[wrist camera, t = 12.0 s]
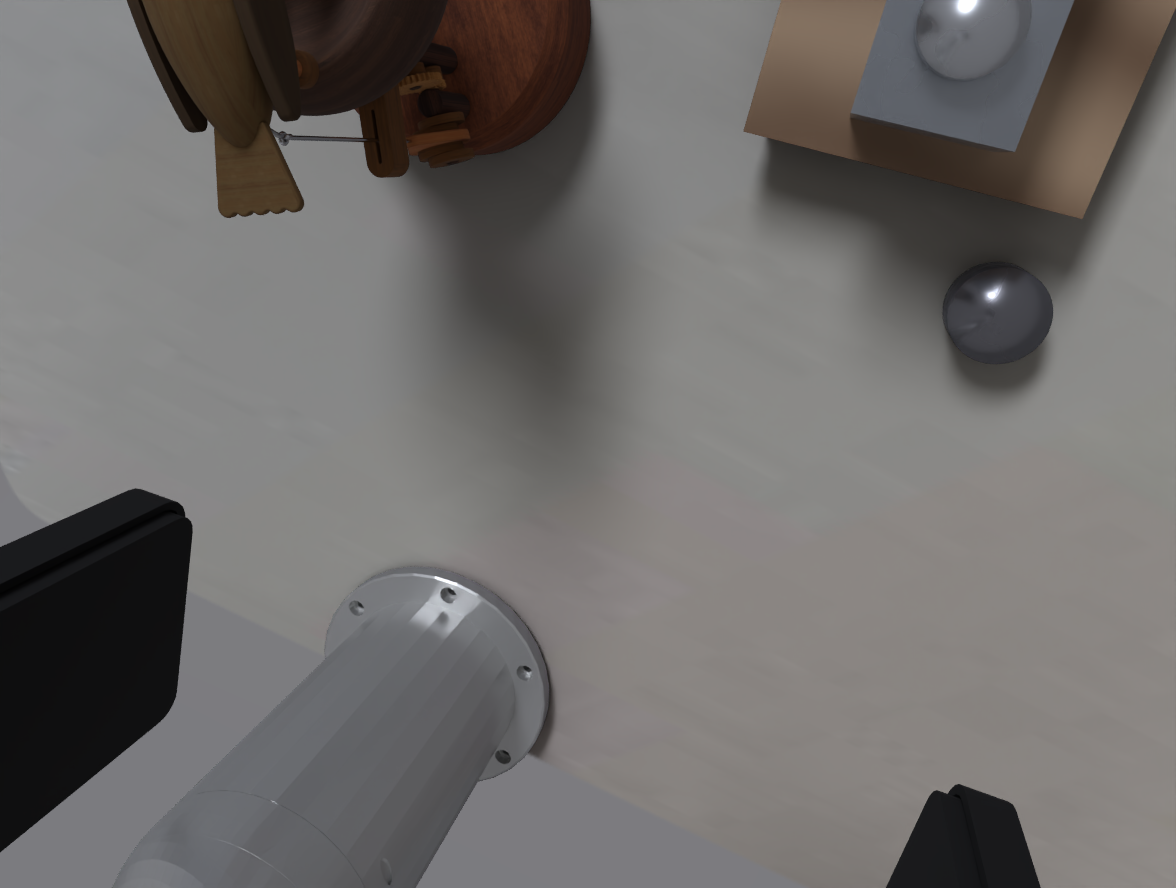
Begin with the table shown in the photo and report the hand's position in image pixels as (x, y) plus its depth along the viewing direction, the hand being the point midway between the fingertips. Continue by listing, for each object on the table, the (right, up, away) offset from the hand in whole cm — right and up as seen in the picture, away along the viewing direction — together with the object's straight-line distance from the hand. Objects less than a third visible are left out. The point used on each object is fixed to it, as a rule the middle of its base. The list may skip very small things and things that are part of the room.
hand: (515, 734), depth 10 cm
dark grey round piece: (+17, +9, +24) cm, 31 cm away
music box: (-4, +22, +26) cm, 34 cm away
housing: (+13, +18, +18) cm, 29 cm away
